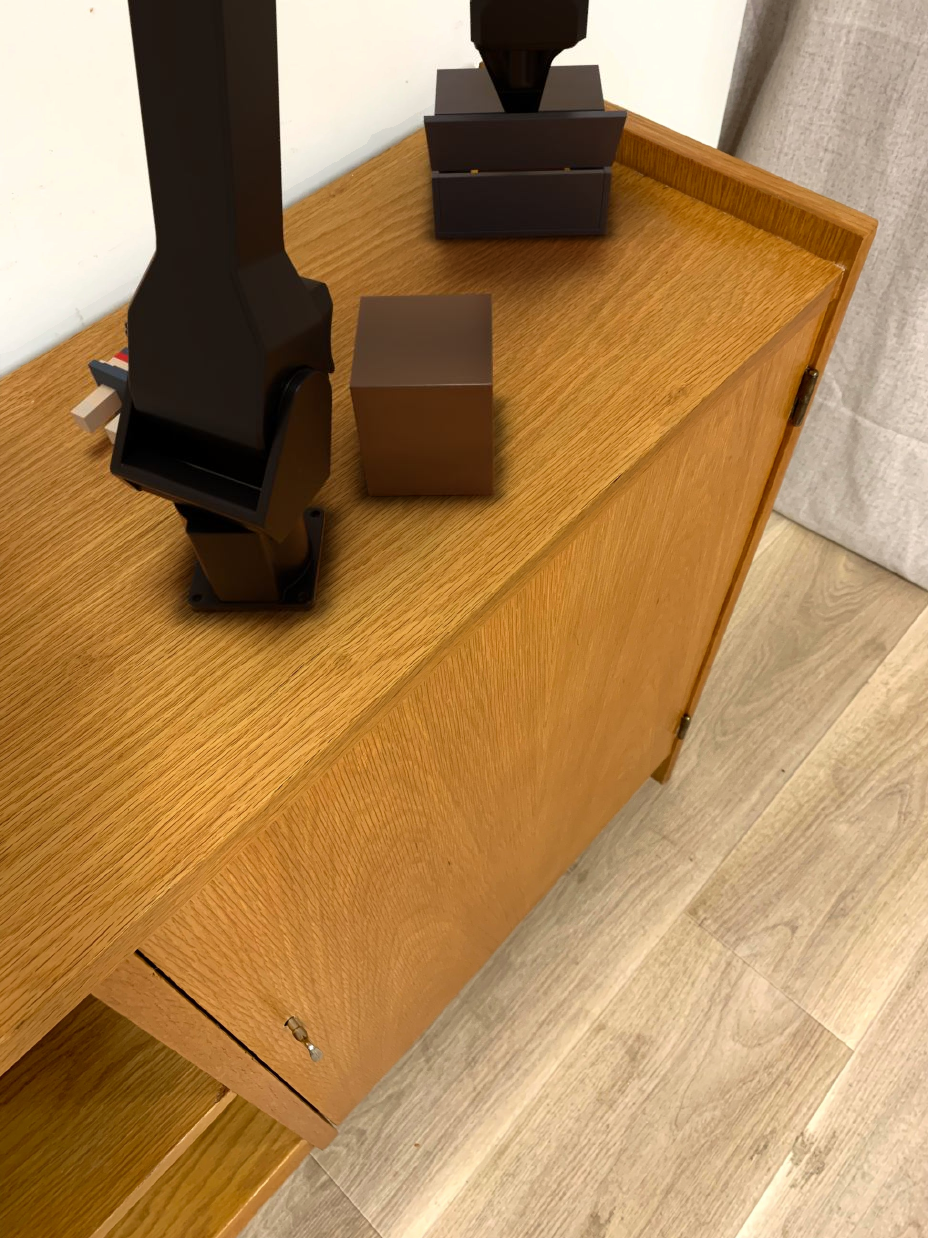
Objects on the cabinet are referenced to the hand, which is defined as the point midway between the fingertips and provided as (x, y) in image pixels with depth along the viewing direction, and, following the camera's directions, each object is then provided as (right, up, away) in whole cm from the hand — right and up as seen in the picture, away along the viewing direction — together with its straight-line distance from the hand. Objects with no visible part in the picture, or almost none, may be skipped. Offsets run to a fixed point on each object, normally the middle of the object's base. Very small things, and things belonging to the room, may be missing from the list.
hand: (521, 97), depth 58 cm
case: (0, -2, +8) cm, 8 cm away
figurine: (-20, -20, -3) cm, 28 cm away
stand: (-6, -24, -7) cm, 26 cm away
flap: (0, -4, -3) cm, 5 cm away
